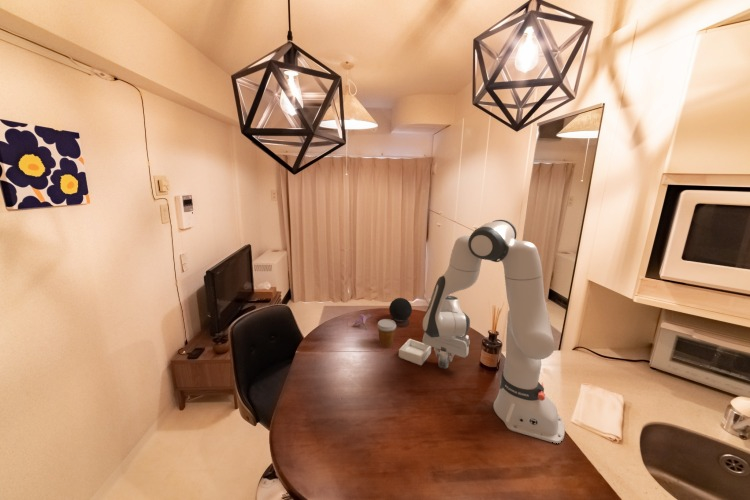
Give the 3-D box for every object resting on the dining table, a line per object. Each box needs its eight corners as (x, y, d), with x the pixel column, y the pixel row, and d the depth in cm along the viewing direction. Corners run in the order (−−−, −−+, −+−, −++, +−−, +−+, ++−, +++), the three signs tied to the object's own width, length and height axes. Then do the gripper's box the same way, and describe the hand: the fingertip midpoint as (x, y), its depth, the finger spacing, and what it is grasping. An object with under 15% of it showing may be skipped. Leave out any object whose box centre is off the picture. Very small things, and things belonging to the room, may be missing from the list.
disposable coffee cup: (383, 337, 152) (384, 316, 150) (398, 343, 147) (399, 322, 144) (372, 345, 145) (373, 323, 142) (388, 352, 140) (389, 329, 137)
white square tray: (430, 353, 140) (431, 345, 139) (421, 365, 130) (421, 357, 129) (409, 345, 146) (409, 338, 145) (398, 357, 136) (398, 349, 135)
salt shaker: (449, 364, 131) (451, 343, 129) (446, 369, 128) (448, 348, 125) (440, 361, 134) (442, 340, 131) (436, 366, 130) (438, 345, 127)
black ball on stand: (384, 322, 168) (385, 298, 165) (397, 315, 178) (398, 292, 175) (402, 330, 160) (403, 305, 157) (415, 322, 170) (416, 298, 166)
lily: (375, 325, 167) (370, 309, 168) (376, 327, 155) (370, 310, 157) (355, 332, 166) (350, 316, 167) (355, 335, 154) (349, 318, 156)
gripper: (472, 334, 124) (468, 362, 127) (427, 321, 134) (425, 347, 138) (468, 341, 119) (465, 370, 122) (422, 327, 129) (420, 354, 132)
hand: (443, 358), depth 130 cm, fingers closed on salt shaker, 4 cm apart
